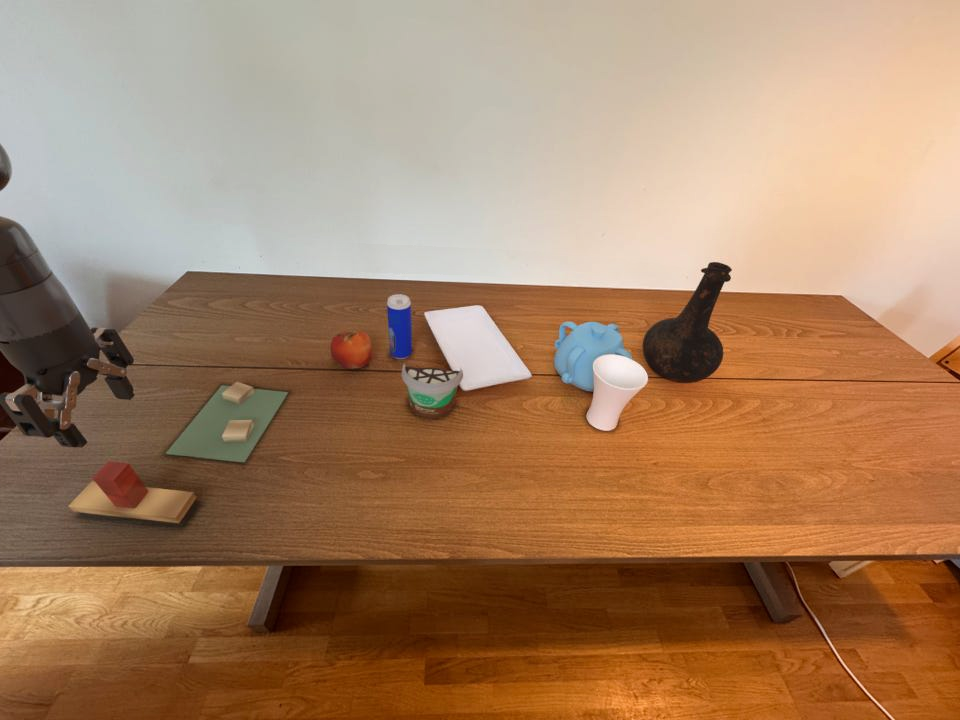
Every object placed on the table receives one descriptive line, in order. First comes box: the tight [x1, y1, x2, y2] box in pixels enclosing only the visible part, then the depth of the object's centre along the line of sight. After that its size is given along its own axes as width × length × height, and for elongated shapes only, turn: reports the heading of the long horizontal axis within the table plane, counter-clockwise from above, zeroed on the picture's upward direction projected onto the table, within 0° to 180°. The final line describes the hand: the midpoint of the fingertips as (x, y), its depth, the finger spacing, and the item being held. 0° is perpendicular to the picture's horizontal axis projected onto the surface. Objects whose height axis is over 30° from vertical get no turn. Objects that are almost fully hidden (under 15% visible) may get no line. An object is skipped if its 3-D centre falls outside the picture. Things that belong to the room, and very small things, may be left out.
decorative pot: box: [553, 321, 634, 392], centre depth 96 cm, size 16×16×14 cm
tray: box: [423, 305, 533, 392], centre depth 102 cm, size 17×32×4 cm, turn 21°
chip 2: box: [222, 420, 254, 442], centre depth 78 cm, size 4×4×2 cm
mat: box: [165, 384, 289, 464], centre depth 81 cm, size 18×14×1 cm
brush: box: [68, 460, 199, 527], centre depth 62 cm, size 16×4×10 cm, turn 86°
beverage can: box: [386, 293, 413, 360], centre depth 96 cm, size 5×5×15 cm
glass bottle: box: [642, 261, 733, 384], centre depth 96 cm, size 18×18×28 cm
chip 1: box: [222, 381, 254, 405], centre depth 85 cm, size 4×4×2 cm
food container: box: [401, 362, 463, 419], centre depth 84 cm, size 12×6×10 cm, turn 88°
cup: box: [586, 354, 649, 432], centre depth 85 cm, size 10×10×14 cm
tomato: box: [330, 330, 373, 370], centre depth 94 cm, size 9×9×8 cm
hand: (103, 420), depth 56 cm, fingers open, 8 cm apart
